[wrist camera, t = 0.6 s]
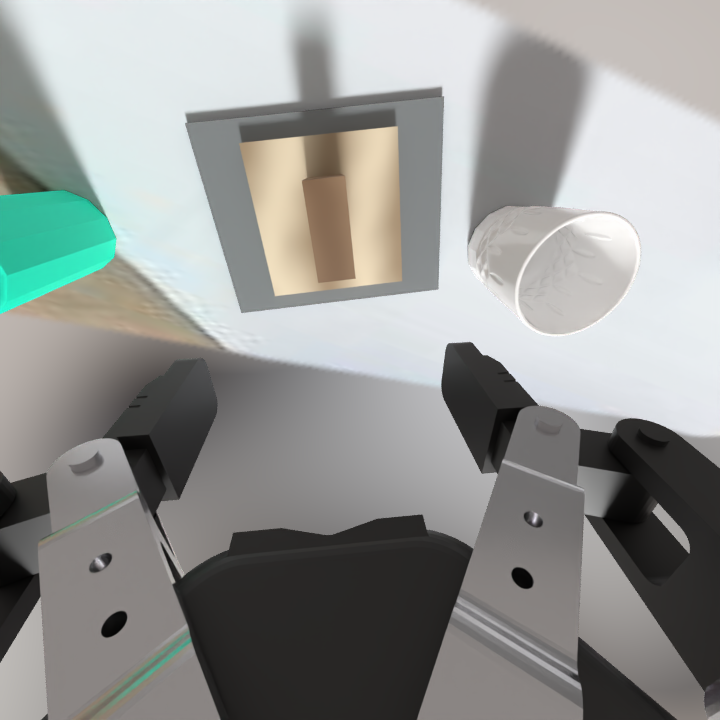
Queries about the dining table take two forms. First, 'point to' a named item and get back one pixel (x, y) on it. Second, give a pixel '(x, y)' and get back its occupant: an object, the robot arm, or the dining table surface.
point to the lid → (327, 208)
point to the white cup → (556, 264)
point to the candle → (49, 243)
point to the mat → (413, 118)
